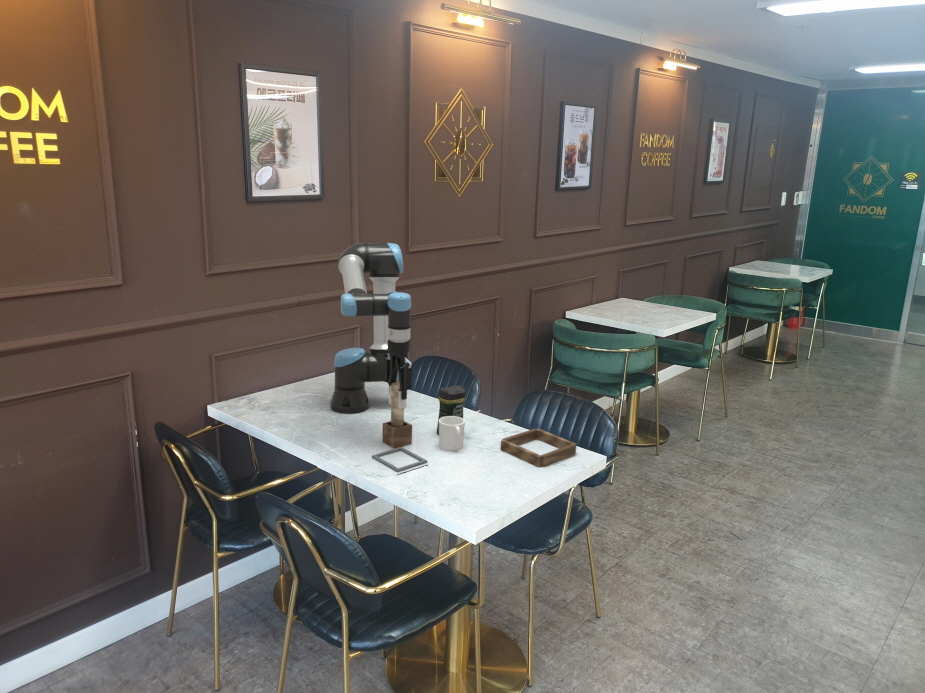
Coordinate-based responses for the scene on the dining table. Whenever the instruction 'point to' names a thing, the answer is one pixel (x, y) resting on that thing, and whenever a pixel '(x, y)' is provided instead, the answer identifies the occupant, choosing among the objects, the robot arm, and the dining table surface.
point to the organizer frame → (535, 459)
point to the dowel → (396, 407)
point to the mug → (451, 433)
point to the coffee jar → (451, 402)
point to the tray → (421, 461)
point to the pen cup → (397, 435)
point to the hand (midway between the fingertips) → (397, 405)
